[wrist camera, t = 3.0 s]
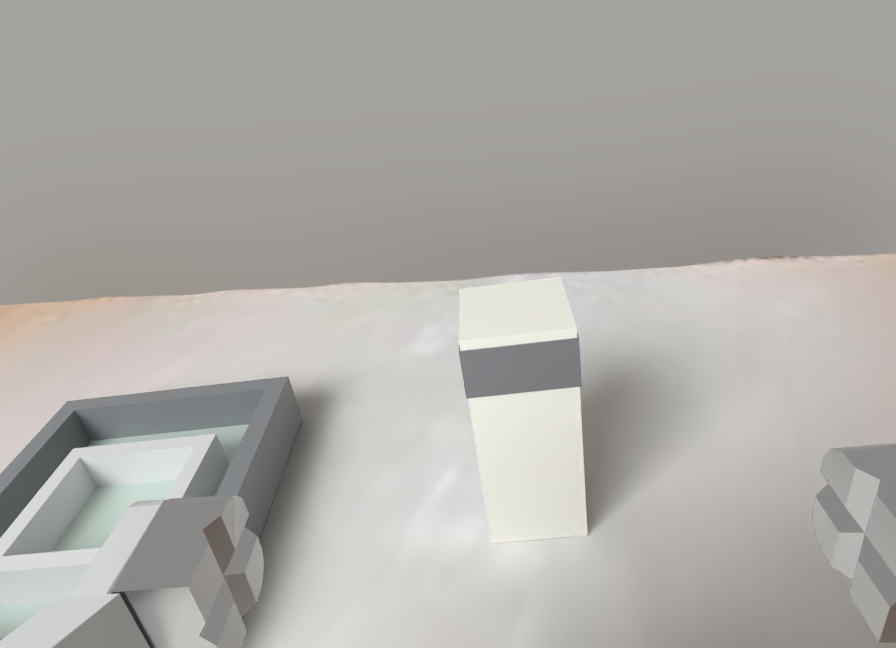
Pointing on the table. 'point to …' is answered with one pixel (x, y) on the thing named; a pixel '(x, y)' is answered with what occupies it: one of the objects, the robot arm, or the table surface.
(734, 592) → the table surface
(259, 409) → the walled box
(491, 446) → the plastic plug
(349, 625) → the table surface
